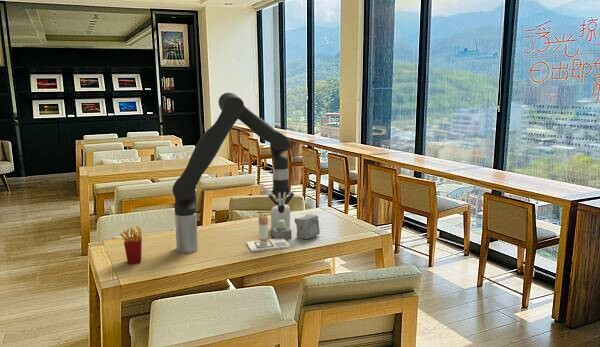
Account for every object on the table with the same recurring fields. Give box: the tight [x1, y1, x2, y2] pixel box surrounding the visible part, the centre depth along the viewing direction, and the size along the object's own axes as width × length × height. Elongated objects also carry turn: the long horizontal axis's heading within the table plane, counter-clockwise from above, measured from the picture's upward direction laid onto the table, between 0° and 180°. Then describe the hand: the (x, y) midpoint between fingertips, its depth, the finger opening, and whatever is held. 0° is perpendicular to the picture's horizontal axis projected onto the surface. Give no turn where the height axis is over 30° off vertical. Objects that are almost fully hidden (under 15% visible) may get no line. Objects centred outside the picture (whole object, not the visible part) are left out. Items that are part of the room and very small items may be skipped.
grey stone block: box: [294, 214, 321, 240], centre depth 228 cm, size 10×8×10 cm
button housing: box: [270, 225, 292, 240], centre depth 229 cm, size 8×8×4 cm
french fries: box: [119, 225, 143, 265], centre depth 198 cm, size 9×8×15 cm
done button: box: [278, 220, 285, 230], centre depth 228 cm, size 3×3×6 cm
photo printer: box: [270, 204, 291, 228], centre depth 240 cm, size 10×4×12 cm, turn 123°
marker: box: [258, 215, 269, 246], centre depth 215 cm, size 4×4×13 cm
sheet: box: [246, 238, 291, 253], centre depth 217 cm, size 18×11×1 cm, turn 107°
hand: (281, 212), depth 226 cm, fingers closed
